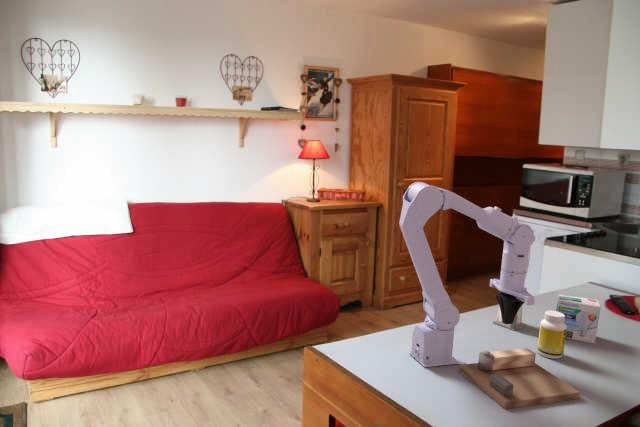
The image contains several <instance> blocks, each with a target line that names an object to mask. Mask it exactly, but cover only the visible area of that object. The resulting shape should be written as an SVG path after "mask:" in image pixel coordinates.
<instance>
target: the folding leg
mask: <svg viewBox="0 0 640 427" xmlns="http://www.w3.org/2000/svg"><path fill="white" fill-rule="evenodd" d="M536 355H537V353H536V352H534V351H533V350H531V349H530V348H528V347H525V348H515V349H506V350H496V351H495V350H494V351H489V350H484V351H481V352H479V354H478V362H477V363H478V367H479V368H480V369H481V370H485V371H492V370H498V369H507V368H516V367H524V366H533V365H535V363H536V357H537V356H536Z"/></svg>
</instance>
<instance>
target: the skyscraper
mask: <svg viewBox="0 0 640 427" xmlns="http://www.w3.org/2000/svg"><path fill="white" fill-rule="evenodd" d="M506 242H507V241H506ZM530 259H531V247H530V248H529V253H528V259H527V268H526V276H525V279H526V278H527V275H528V270H529V266H530ZM497 309H498V310H497V313H496V319H495V320H494V321H492V324H494V325H496V326H499V327H501V328H506V329H507V330H511V331H513V332H515V331H517V330H521V329H522V328H525V327H527V324H526V323H524V322H522V321H523V305H522V306H521V307H520V309H519V310H518V312H517V314H516V316H515V319H514V321H513V324H504V323H503V322H502V316H501V310H500V306H499V305H498V308H497Z"/></svg>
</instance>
